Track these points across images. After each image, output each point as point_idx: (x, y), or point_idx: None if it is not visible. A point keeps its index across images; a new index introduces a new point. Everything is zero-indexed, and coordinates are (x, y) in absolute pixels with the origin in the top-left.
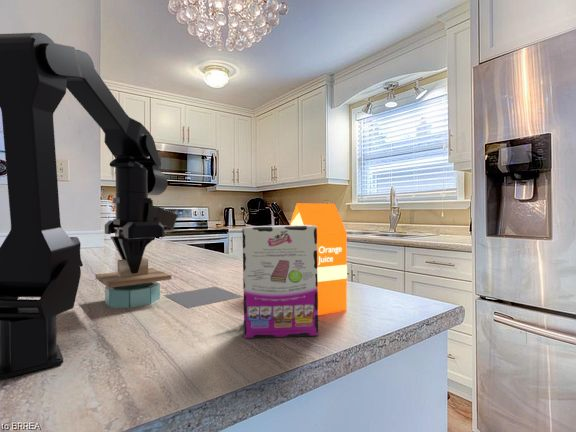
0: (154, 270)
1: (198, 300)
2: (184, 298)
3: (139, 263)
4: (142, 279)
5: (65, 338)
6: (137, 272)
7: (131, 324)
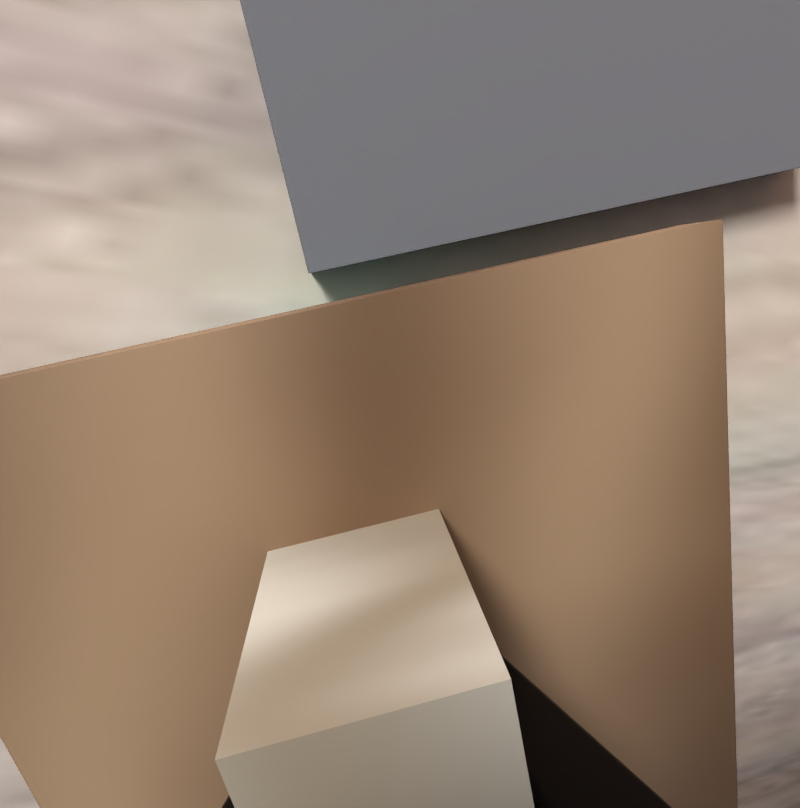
0: (144, 405)
1: (671, 2)
2: (530, 111)
3: (597, 756)
4: (727, 573)
5: (758, 735)
6: (504, 659)
7: (756, 508)
